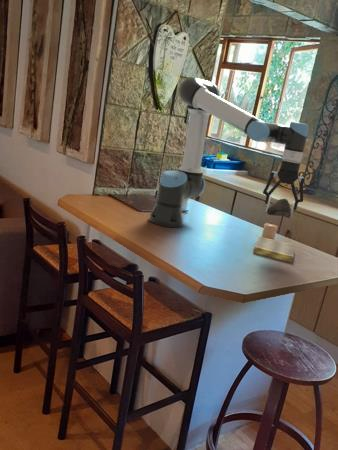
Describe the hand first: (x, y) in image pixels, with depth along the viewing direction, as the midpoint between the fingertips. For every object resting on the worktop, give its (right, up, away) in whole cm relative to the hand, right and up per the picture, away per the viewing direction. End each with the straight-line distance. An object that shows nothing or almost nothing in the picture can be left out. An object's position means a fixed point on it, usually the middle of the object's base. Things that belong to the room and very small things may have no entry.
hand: (278, 214), depth 185 cm
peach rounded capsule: (0, -11, +21) cm, 24 cm away
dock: (-1, -16, +4) cm, 16 cm away
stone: (0, -1, -1) cm, 1 cm away
